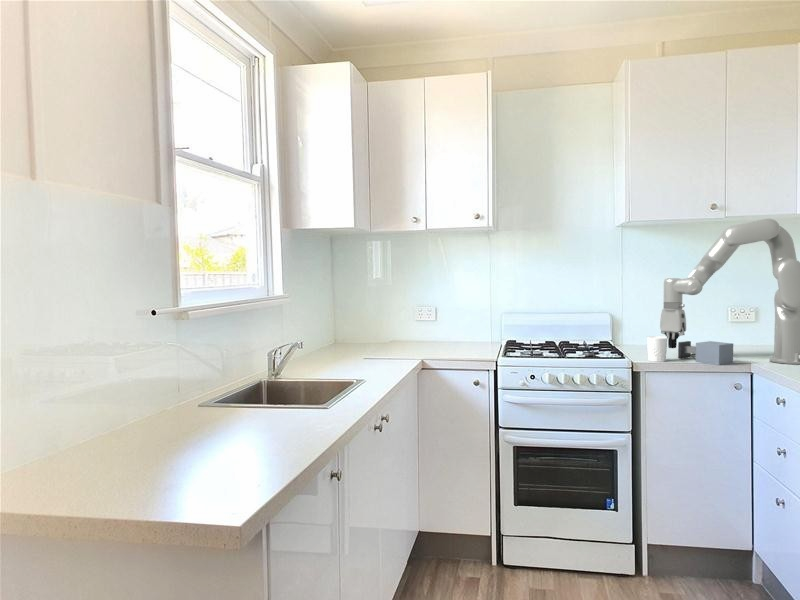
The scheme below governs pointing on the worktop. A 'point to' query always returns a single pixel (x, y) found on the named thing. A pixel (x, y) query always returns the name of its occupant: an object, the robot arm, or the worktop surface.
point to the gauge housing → (714, 353)
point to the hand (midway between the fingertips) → (672, 347)
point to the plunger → (686, 349)
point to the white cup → (657, 348)
